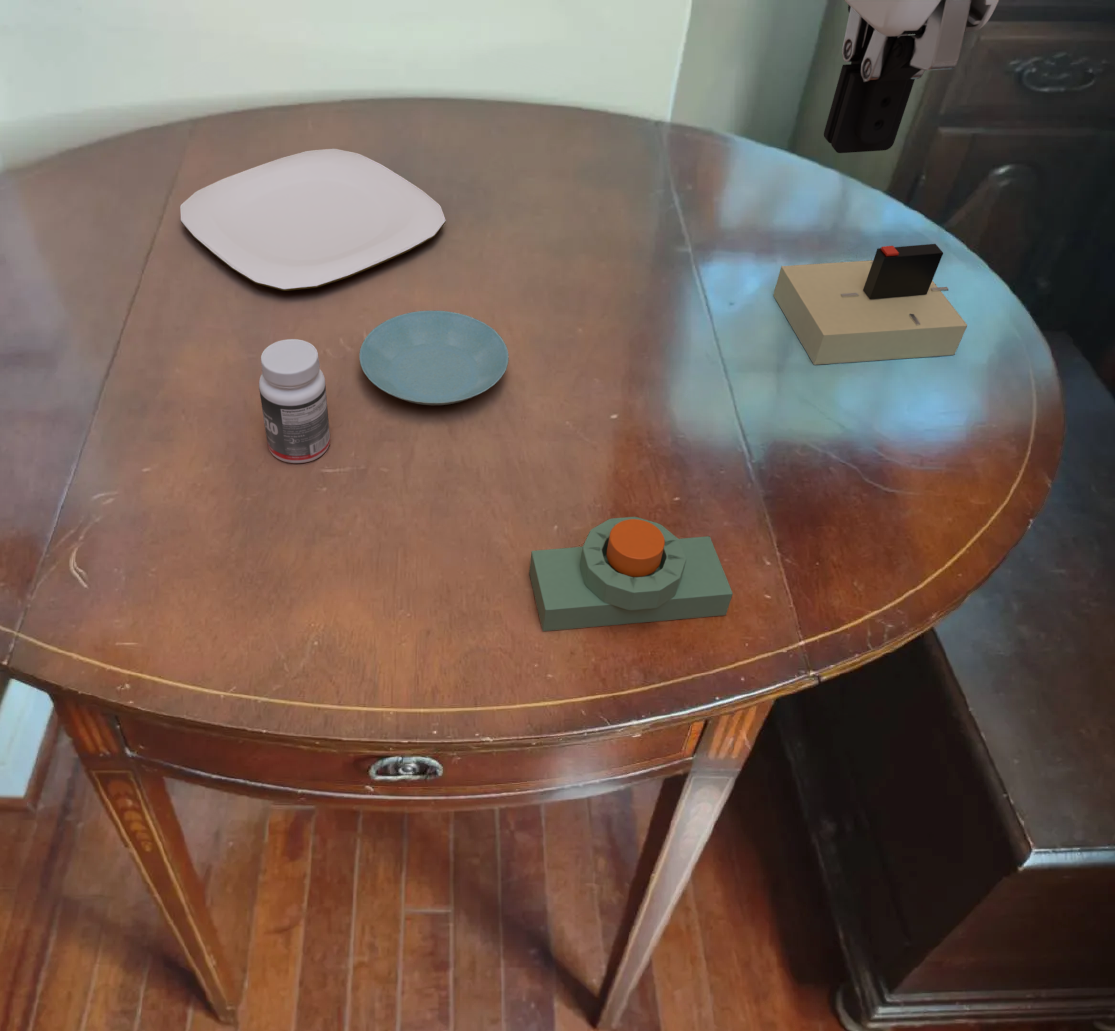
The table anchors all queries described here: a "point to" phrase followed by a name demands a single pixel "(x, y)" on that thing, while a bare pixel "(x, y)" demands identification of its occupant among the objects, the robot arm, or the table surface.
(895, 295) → the knob
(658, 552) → the button
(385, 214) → the plate
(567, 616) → the block
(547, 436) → the table surface
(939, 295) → the panel
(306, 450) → the pill bottle
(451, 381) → the saucer
